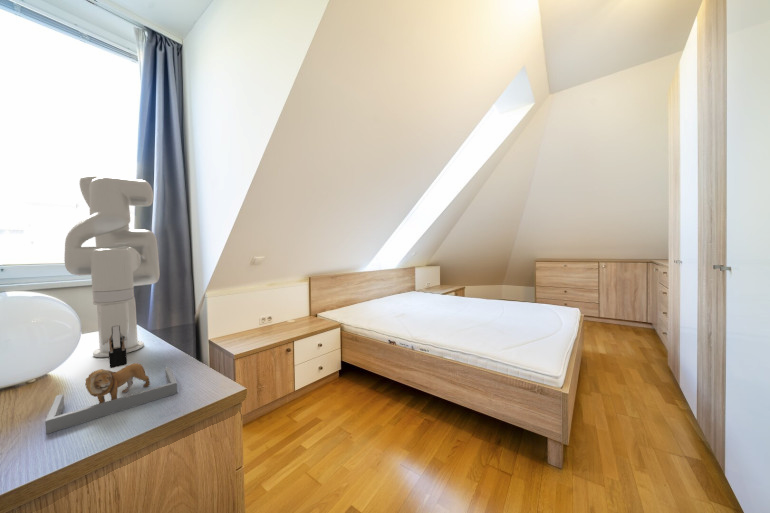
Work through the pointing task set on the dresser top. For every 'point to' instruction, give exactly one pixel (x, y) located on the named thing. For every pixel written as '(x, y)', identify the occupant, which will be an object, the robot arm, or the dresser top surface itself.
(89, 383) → the lion figurine
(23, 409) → the dresser top surface
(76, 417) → the box
